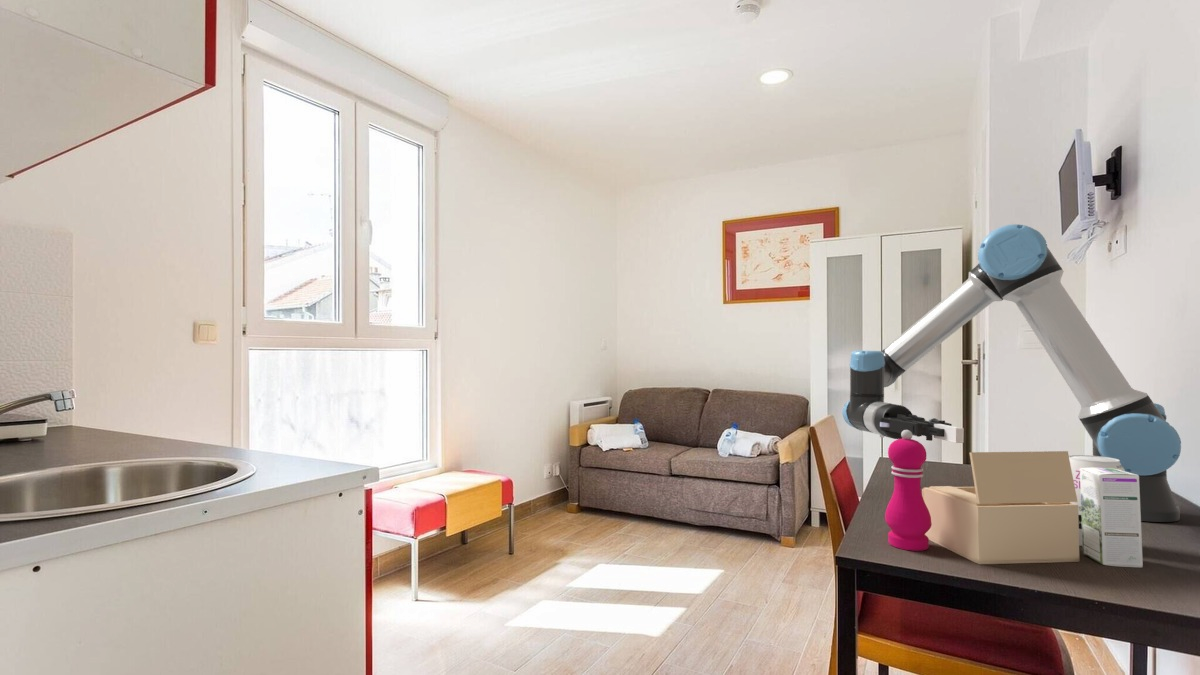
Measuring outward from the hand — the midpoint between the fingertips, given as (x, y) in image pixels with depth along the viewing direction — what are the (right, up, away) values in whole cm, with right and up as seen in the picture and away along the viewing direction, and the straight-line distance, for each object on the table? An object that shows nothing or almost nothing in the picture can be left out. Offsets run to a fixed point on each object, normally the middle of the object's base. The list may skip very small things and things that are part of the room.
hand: (959, 435), depth 112 cm
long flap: (+1, -9, -16) cm, 18 cm away
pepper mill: (-13, -18, -7) cm, 24 cm away
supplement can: (+20, -18, -7) cm, 28 cm away
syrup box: (+15, -18, -15) cm, 28 cm away
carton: (+1, -18, -9) cm, 20 cm away
